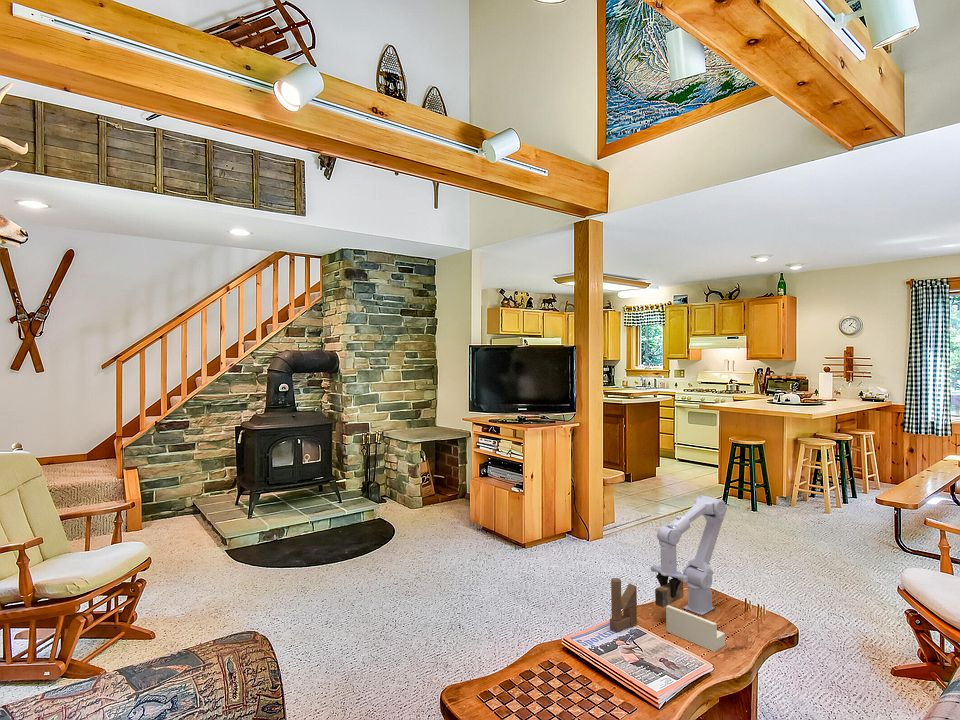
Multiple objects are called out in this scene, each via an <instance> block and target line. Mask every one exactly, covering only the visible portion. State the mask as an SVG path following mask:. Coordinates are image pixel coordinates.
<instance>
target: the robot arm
mask: <svg viewBox="0 0 960 720" xmlns="http://www.w3.org/2000/svg"><path fill="white" fill-rule="evenodd" d="M727 509H728V508H727V505H726V503H725V501H724V500H723V499H720V498H719V499H718V498H716V497H712V496H706V495H704V494H701V495H699V496H698V497H697V498H695V500H694V504H693V505H692V506H691V507H690V508H689V510H687V512H686V513H685V514H684V515H676V516H675V518H674V519H673V520H672V521H671V522H669V523H668V524H667V525H663V526H661V527H659V529H658V530H657V533H656V537H657V540H658V545H659V546H660V547H659V548H660V566H659V565H655V564H652V565H650V572H652V573H654V572H655V573H656V576H655V579H657V581H658V583H659V587H660V586H662V585H664V584H667V583H670V588H671V598H674V597H676V593H677V589H678V587H679V585H680V583H681V581H683V583H685V584H686V585H687V605H684V606H683V607H682V608H683V609H684V610H686V611H690V612H692V613H695V614H697V615H700V616H704V615H706V614H707V613H709V612H711V611H712V610H714V609H715V607H714V606H713V592H712V591H713V590H712V589H711V587H712V583H713V575H714V571H713V569H712V568H711V566H710V562H711V559H712V555H713V552H714V549H715V547H716V543H717V541H718V536H719V534H720V530H721V527H722V524H723V522H724V519H725V515H726V513H727ZM700 516H702V517H704V518H705V522H706V523H705V526H704V529H703V531H702V536H701V538H700V540H699V541H700V542H699V544H698V547H697V550H696V553H695V554H696V555H695V557H694V558H693V559H692V560H689V561H687V564H686V566H685V568H684V569H683V571H682V572H680V571H678V564H677V562H678V561H677V560H678V559H677V545H678V544H679V543H680V539H681V537H682V535H683V534H684V533H686V532H687V531H688V530H689V529H690V527H691V523H692V522H694V521H695V520H696V519H698V518H700Z"/></svg>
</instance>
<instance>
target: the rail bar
mask: <svg viewBox="0 0 960 720" xmlns="http://www.w3.org/2000/svg"><path fill="white" fill-rule="evenodd" d="M654 595H655V596H654V598H655V599H654V601H655V602H654V603H655V605H656V606H658V607H659V608H666V606H668V605H672V603H675V602H676V601H678V600H681V599H683V598H684V582H683V581H681V583H680V585H679V587H678V589H677V593H676V597H674V598H671V588H670V583H669V582H668V583H667V584H664V585H662V586H660V585H659V587H656V588H655V590H654Z"/></svg>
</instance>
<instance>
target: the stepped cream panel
mask: <svg viewBox="0 0 960 720" xmlns="http://www.w3.org/2000/svg"><path fill="white" fill-rule="evenodd" d="M665 618H666V619H665V620H666V621H665V622H666V625H665V626H666V628H665V629H666V632H667V633H669V634H672V635H674V636H677V637H679V638H681V639H683V640H686V641H688V642H691V643H693V644H695V645H697V646H700V647H702V648H705V649H707V650H709V651H711V652H713V653H715V652H717V651H719V650H721V648H723V647H725V646H726V633H725V632H723V631H721V630H718V629H717V628H718V627H717V626H718V625H717V623H716V622H714V621H712V620H709V619H706V618H703V617H701V616H698V615H695V614H692V613H690V612H688V611H685V610H683V609H680V608H677V607H674V606H671V604H669V605H667V606H665Z"/></svg>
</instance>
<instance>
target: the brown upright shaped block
mask: <svg viewBox="0 0 960 720" xmlns="http://www.w3.org/2000/svg"><path fill="white" fill-rule="evenodd" d="M610 593H611V594H610V595H611V596H610V597H611V598H610V599H611V604H610V605H611V607H610V608H611V609H610V610H611V618H609V629H610V628H611V629H610V630H612V631H614V632H615V631H616V632H615V633H618V631H619V632H621V631H624V630H626V629H628V628H630V627H631V628H632V627H634V626H637V625H638V615H637V613H638V611H637V605H638V600H637V598H638V597H637V596H638V595H637V593H638V592H637V586H636V585H635V584H632V583H629V582H628V585H627V586H626V587H625V590H624V592H623V593H622V579H621V578H618V577H613V578H611V579H610ZM622 611H623V614H622ZM623 629H624V630H623Z"/></svg>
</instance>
